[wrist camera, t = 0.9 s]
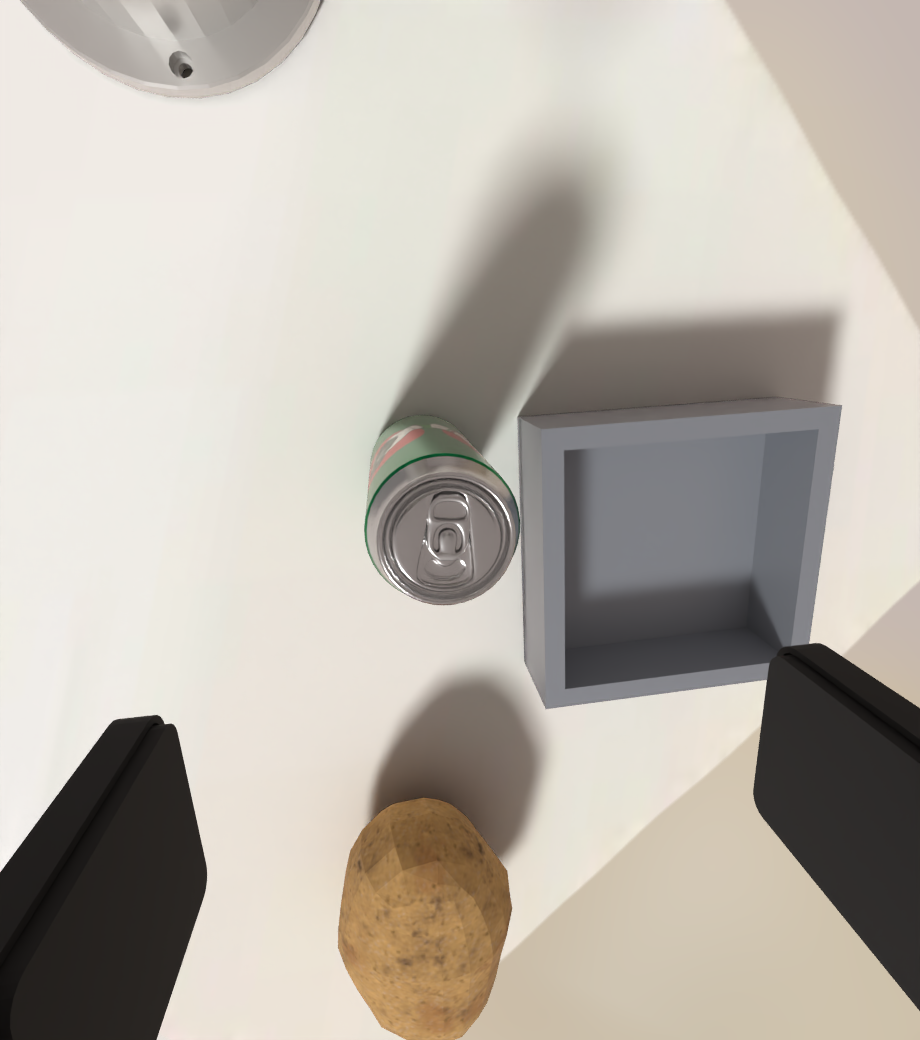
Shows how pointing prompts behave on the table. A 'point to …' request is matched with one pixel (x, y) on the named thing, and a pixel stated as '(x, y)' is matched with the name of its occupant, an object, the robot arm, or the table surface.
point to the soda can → (437, 513)
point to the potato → (423, 919)
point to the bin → (670, 543)
